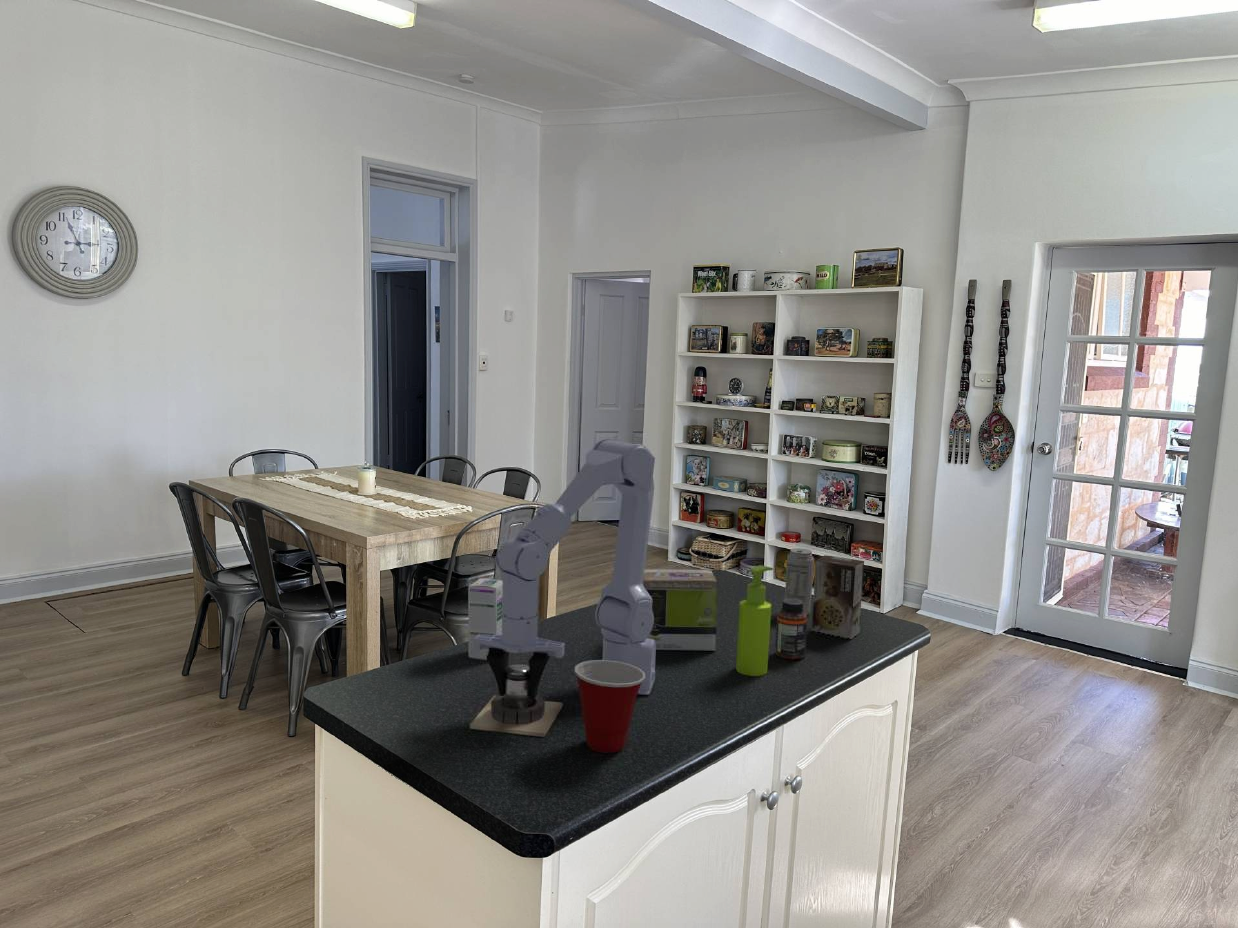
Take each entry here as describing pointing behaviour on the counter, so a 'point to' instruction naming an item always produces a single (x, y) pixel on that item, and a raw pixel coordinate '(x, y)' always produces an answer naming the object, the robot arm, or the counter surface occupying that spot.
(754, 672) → the soap dispenser
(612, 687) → the plastic cup
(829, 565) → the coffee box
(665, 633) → the tea box
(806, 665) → the counter surface
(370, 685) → the counter surface
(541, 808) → the counter surface
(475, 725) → the mount plate
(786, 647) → the supplement bottle
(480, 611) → the syrup box
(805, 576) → the energy drink can
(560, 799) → the counter surface
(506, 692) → the silver capped cylinder
